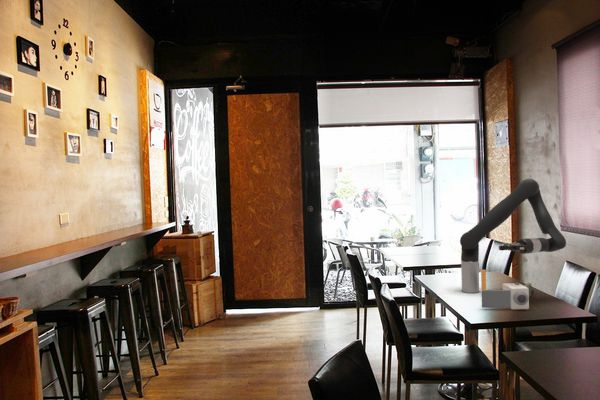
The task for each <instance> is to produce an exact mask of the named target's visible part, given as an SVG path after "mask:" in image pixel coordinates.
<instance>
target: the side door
mask: <svg viewBox="0 0 600 400" xmlns="http://www.w3.org/2000/svg"><path fill="white" fill-rule="evenodd" d="M480 276H481V277H480V279H481V280H480V281H481V286H480V287H481V308H483V309H484V308H486V309H487V308H488V309H489V308H490V309H491V308H492V309H511V291H510V290H503V289H502V290H501V289H487V277H486V276H487V270H486V269H481V270H480Z"/></svg>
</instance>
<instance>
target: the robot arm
mask: <svg viewBox="0 0 600 400" xmlns="http://www.w3.org/2000/svg"><path fill="white" fill-rule="evenodd" d="M541 194H542V192H541V190H540V184H539V183H538V181H536V180H535V179H533V178H526V179H523V180H522V181H521V182H520V183H518V185H517V186H516V187H515V188H514V189H513V190H512V191H511V193H509V195H507V196H506V197H505V198H503V199H502V200H501V201H499V202H498V203H497V204H495V205H494V207H492V208H491V209H490V210H489V211H488V212H487V213H486V214H485V215H484V216H483V217H482V218H481V220H479V222H478V223H477V224H476V225H474V226H473V227H472V228H471V229H470V230H468V231H466V232H464V233H463V234H462V235H461V236H460V239H459V243H460V246H461V253H460V254H461V255H460V267H461V268H460V269H461V271H460V272H461V291H462V292H463V293H467V294H476V293H479V292H480V274H479V273H480V272H479V271H480V267H479V266H480V264H479V263H480V262H479V255H480V249H479V247H480V245H479V243H480V242H481V241H482V240H483V239H484V237H486V236H487V235H488V234H490V233H491V232H492V231H494V230H495V229H497V228H498V227H499V226H501V225H502V224H503V223H504V222H506V221H507V219H509V218H510V217H511V215H513V213H514V212H515V211H516V210H517V208H518V207H519V206H520V205H521V204H522V203H523V202H525V201H526V200H527V201H528V203H529V204H530V206H531V208H532V211H533V214H534V216H535V220H536V222H537V224H538V227H539V228H540V231H541V233H542V234H543V235H549V236H550V237H549V238H545V237H535V238H534V237H527V238H519V239H518V240H517V241H516V242H511V243H509V242H506V243H503V245H499V246H498V250H499V251H511V252H518V253H519V254H523V255H525V254H526V255H527V254H534V253H535V254H536V253H541V252H544V253H552V252H556V251H559V250H562V249H564V248H565V247H566V246H567V241H566V238H565V236H564V235H563V234H562V233H561V231H560V230H559V229H558V228H557V226H556V225H555V223H554V220H553V219H552V216H551V215H550V212H549V210H548V208H547V206H546V204H545V202H544V200H543V197H542V195H541Z"/></svg>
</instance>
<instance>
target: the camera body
mask: <svg viewBox="0 0 600 400" xmlns="http://www.w3.org/2000/svg"><path fill="white" fill-rule="evenodd" d="M502 290H510V291H511V308H510V310H529V309H530V303H529V302H530V301H529V300H530V297H529V288H527V287H525V286H523V284H521V283H520V282H517V281H516V282H512V283H509V282H508V283H502Z"/></svg>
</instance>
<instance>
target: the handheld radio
mask: <svg viewBox="0 0 600 400" xmlns="http://www.w3.org/2000/svg"><path fill="white" fill-rule="evenodd" d="M522 285H523V284H522ZM523 286H525V287H527V288H529V298H530V297H531V296H532V294H533V293H535V292H534V290H533V289H532V283H531V282H527V283H525V284H524V285H523Z"/></svg>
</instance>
